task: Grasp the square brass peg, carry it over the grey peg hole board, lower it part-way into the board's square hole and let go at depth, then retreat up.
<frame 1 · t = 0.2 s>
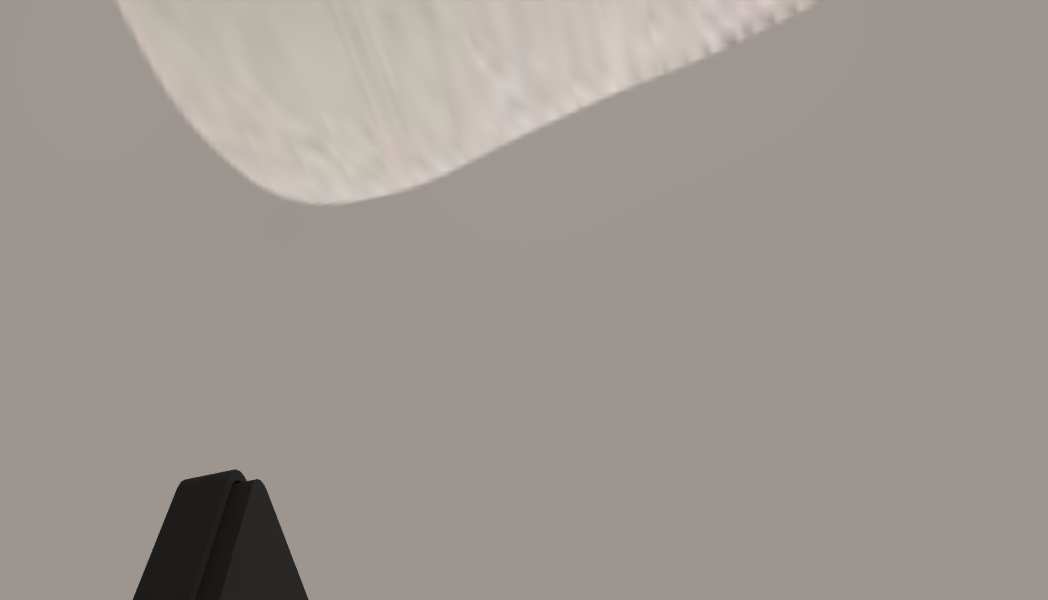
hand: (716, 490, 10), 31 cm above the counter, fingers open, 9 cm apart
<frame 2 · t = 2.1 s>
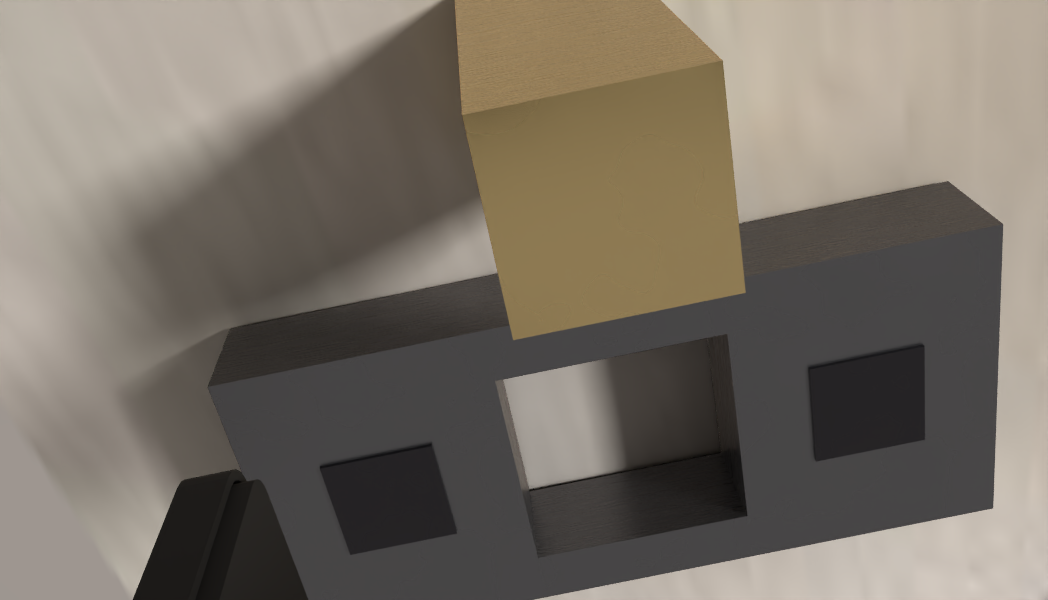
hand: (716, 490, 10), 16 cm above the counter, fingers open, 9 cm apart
grey peg hole board: (610, 391, 29), on the counter
brass peg: (550, 58, 25), on the counter
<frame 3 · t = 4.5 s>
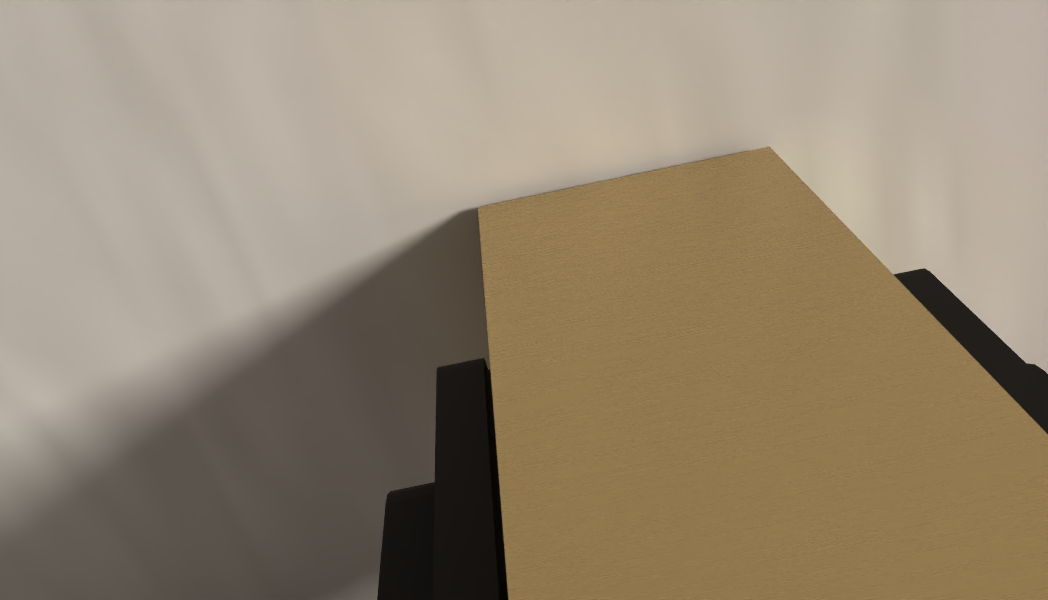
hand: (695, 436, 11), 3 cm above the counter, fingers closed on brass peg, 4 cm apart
brass peg: (643, 307, 14), on the counter, touching gripper
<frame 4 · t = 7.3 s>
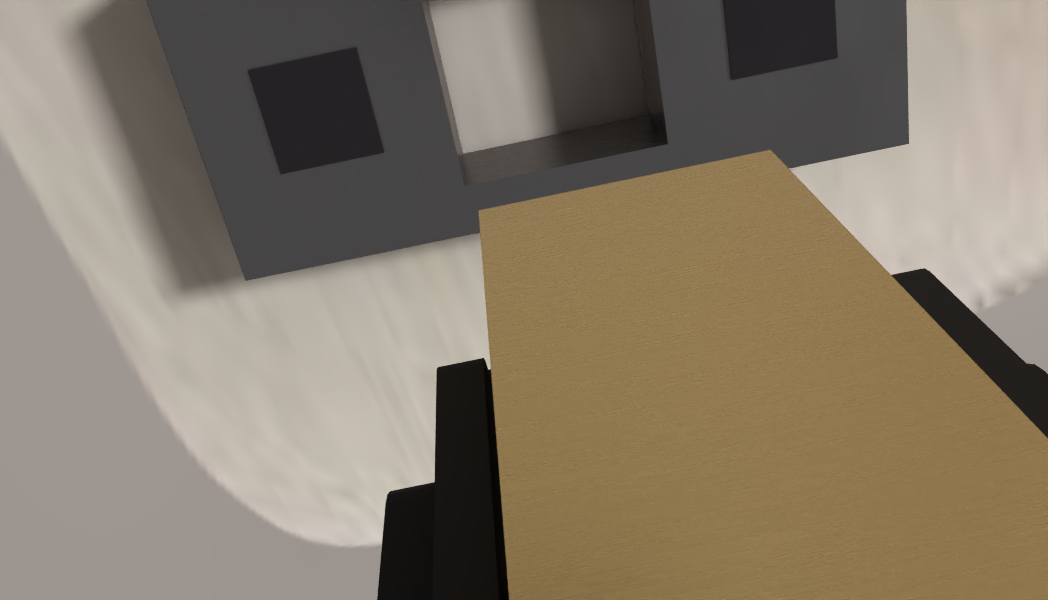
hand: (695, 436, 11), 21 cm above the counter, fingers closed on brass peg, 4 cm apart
grey peg hole board: (538, 40, 30), on the counter
brass peg: (644, 310, 14), point 18 cm above the counter, touching gripper
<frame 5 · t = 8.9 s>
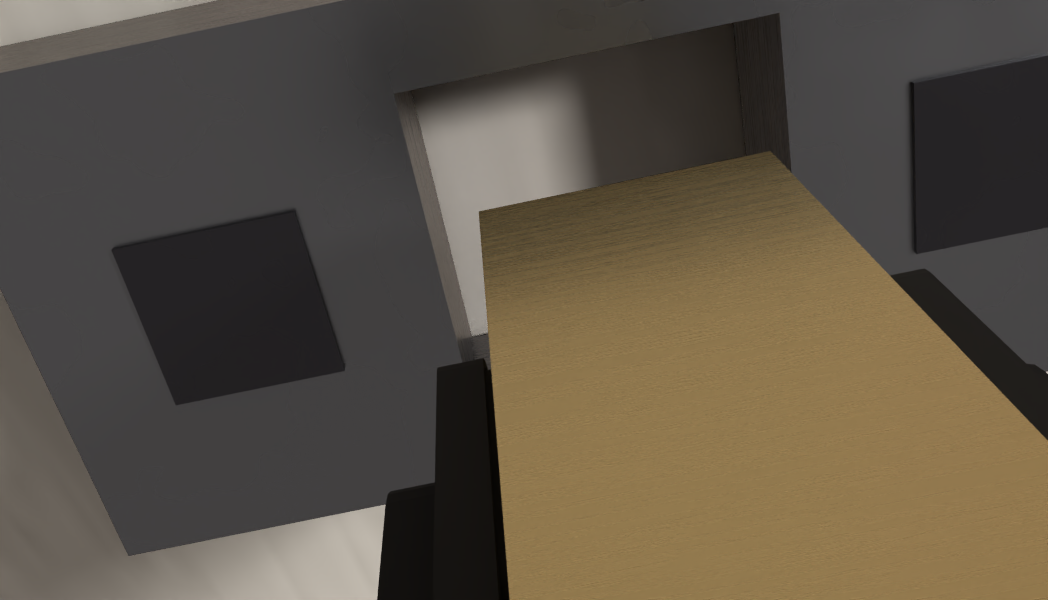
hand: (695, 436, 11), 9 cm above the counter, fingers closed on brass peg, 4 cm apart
grey peg hole board: (591, 172, 19), on the counter
brass peg: (644, 311, 14), point 6 cm above the counter, touching gripper
when the fingers open (5 cm above the counter, at t = 10.4 s): brass peg drops 1 cm, resting in grey peg hole board.
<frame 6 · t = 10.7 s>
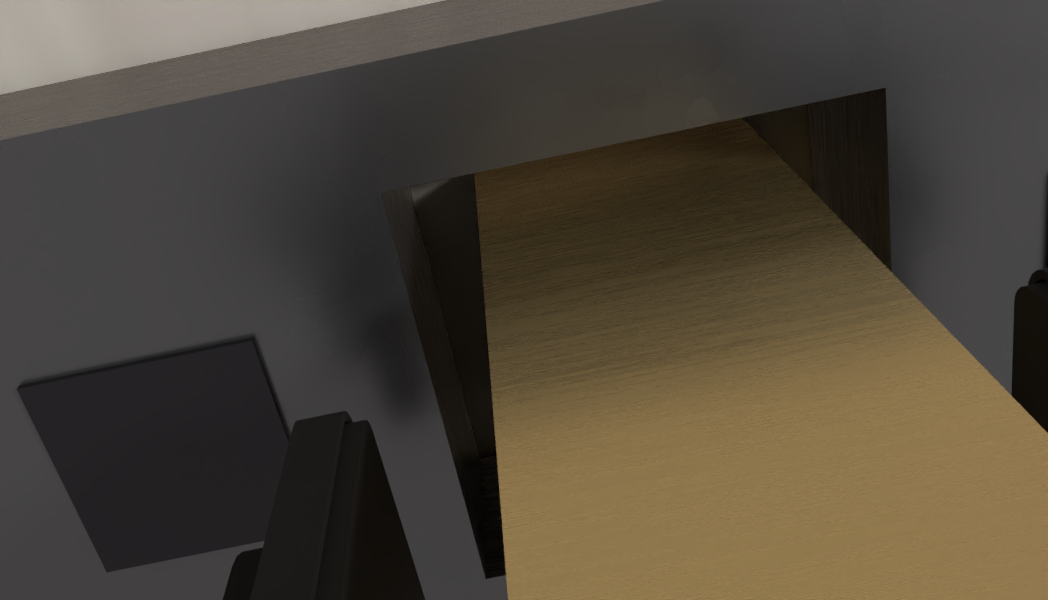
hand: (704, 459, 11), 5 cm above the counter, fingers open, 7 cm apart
grey peg hole board: (627, 265, 16), on the counter
brass peg: (626, 264, 16), resting in grey peg hole board
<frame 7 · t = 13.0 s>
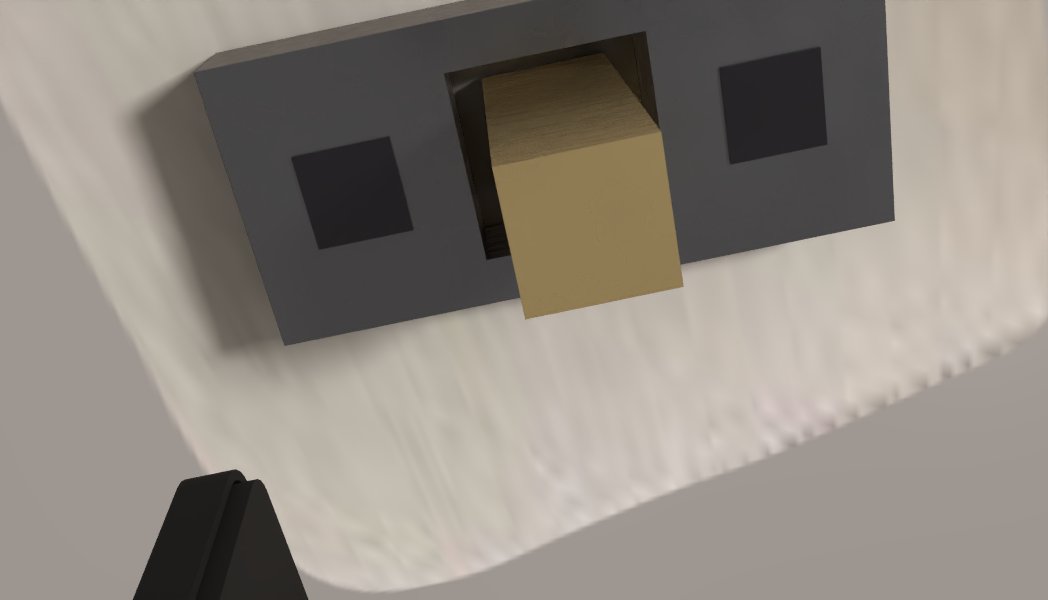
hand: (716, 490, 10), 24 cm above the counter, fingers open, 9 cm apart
grey peg hole board: (553, 125, 33), on the counter
brass peg: (553, 125, 33), resting in grey peg hole board
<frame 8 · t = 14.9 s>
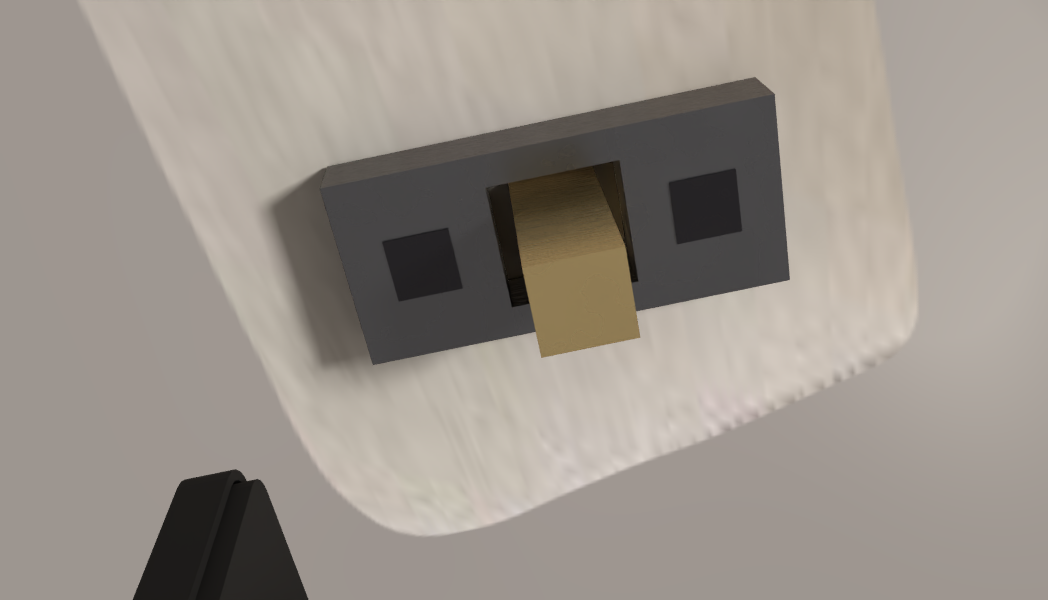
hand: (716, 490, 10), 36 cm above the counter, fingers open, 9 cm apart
grey peg hole board: (557, 212, 48), on the counter
brass peg: (557, 211, 48), resting in grey peg hole board
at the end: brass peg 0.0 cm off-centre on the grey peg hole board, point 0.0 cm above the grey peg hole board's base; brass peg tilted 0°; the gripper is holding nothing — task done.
